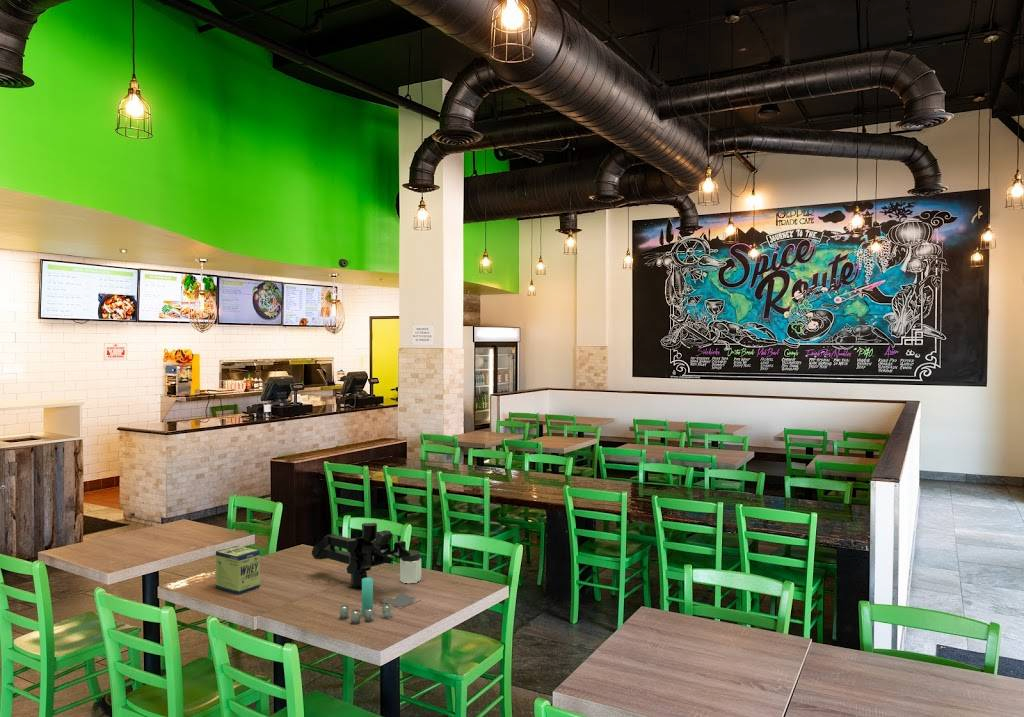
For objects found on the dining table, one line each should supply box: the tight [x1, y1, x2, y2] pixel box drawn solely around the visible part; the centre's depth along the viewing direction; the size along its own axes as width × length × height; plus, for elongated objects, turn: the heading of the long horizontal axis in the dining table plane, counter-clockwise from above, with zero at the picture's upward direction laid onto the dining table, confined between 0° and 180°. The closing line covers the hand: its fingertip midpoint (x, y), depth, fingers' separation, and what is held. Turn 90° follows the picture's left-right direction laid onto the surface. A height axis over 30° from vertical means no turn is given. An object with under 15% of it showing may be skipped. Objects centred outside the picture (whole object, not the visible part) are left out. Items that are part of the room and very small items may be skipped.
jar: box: [399, 549, 422, 584], centre depth 299 cm, size 9×8×12 cm
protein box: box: [215, 545, 261, 595], centre depth 290 cm, size 10×16×16 cm
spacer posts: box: [339, 604, 392, 625], centre depth 257 cm, size 15×14×4 cm
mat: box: [381, 593, 416, 608], centre depth 274 cm, size 11×11×1 cm
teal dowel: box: [361, 576, 374, 617], centre depth 260 cm, size 4×4×13 cm
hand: (401, 557), depth 276 cm, fingers open, 9 cm apart
